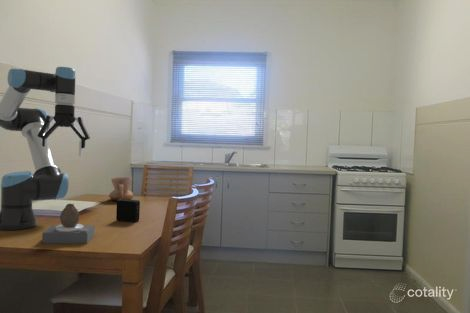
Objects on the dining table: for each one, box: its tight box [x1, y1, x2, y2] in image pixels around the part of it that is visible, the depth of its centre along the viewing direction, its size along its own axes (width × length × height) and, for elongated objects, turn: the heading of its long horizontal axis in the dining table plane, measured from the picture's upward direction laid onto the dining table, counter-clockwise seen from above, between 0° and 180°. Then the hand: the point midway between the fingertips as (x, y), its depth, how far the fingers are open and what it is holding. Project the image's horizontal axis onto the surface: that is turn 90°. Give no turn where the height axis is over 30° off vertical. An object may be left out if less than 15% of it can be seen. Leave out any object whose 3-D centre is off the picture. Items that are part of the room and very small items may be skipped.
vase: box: [59, 203, 80, 228], centre depth 148 cm, size 7×7×9 cm
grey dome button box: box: [41, 223, 95, 245], centre depth 148 cm, size 16×12×5 cm
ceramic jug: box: [108, 176, 134, 202], centre depth 237 cm, size 18×14×14 cm
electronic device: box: [115, 199, 141, 223], centre depth 184 cm, size 4×10×10 cm, turn 78°
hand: (63, 155), depth 161 cm, fingers open, 13 cm apart
